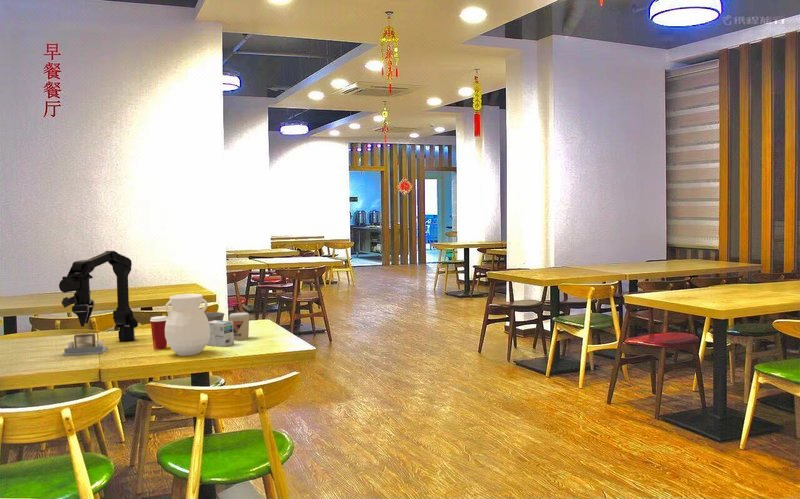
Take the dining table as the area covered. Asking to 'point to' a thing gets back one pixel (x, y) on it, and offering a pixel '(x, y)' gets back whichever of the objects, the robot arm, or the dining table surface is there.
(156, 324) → the paper cup
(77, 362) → the dining table surface
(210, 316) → the bowl
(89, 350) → the wall panel
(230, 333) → the light bulb box
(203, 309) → the white vase
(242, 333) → the coffee cup
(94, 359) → the dining table surface
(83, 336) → the brown box shape
